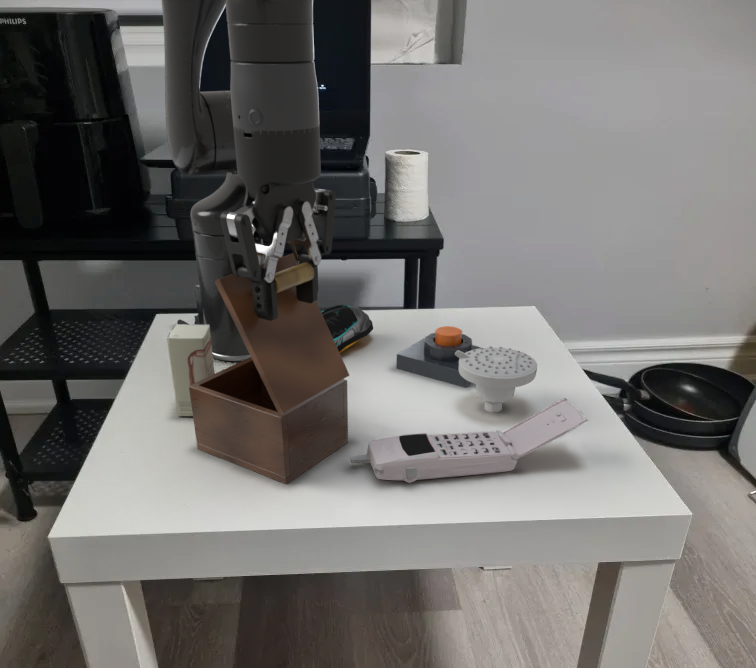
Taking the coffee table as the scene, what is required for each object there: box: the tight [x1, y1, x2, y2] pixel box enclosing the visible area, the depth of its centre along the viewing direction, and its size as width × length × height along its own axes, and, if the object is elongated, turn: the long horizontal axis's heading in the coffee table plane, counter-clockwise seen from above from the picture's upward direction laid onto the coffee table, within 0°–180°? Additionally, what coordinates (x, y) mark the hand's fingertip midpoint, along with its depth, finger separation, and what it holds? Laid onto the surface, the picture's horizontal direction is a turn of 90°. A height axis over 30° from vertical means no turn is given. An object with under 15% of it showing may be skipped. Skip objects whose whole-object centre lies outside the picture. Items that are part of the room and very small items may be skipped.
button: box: [434, 325, 463, 346], centre depth 102 cm, size 4×4×2 cm
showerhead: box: [455, 346, 538, 413], centre depth 92 cm, size 9×7×10 cm
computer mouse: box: [320, 304, 374, 354], centre depth 108 cm, size 9×17×6 cm, turn 130°
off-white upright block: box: [166, 323, 216, 417], centre depth 90 cm, size 5×4×10 cm
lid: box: [215, 252, 350, 414], centre depth 75 cm, size 14×11×5 cm
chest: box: [189, 357, 349, 485], centre depth 83 cm, size 13×11×8 cm
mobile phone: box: [349, 397, 589, 484], centre depth 80 cm, size 6×6×25 cm
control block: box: [395, 332, 482, 389], centre depth 103 cm, size 11×9×4 cm
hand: (287, 309), depth 75 cm, fingers closed on lid, 5 cm apart
